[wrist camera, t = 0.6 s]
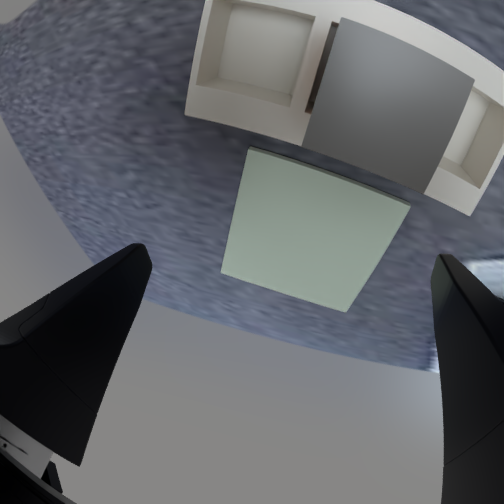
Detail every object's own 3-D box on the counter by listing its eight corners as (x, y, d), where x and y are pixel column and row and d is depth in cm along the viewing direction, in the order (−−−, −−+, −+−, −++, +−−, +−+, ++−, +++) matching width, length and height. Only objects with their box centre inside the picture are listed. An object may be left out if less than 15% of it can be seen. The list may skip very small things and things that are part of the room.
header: (499, 80, 13) (530, 92, 10) (451, 187, 19) (469, 216, 16) (235, -22, 13) (213, -34, 10) (208, 101, 19) (184, 114, 16)
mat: (409, 202, 20) (410, 206, 20) (345, 307, 28) (345, 312, 28) (250, 146, 21) (248, 149, 20) (222, 268, 29) (220, 273, 28)
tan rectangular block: (407, 59, 14) (475, 79, 7) (383, 123, 17) (423, 194, 10) (335, 31, 14) (341, 17, 7) (314, 97, 17) (301, 147, 10)
